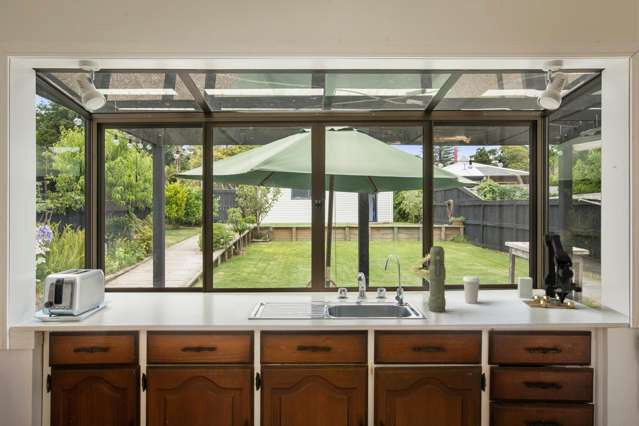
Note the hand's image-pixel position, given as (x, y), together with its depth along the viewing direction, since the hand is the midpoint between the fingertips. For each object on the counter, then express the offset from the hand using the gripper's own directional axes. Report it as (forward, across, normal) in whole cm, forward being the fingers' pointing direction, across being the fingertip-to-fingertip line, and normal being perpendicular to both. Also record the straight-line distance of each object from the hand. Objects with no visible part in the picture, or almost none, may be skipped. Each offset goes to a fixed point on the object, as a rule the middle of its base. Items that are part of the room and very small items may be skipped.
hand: (561, 303), depth 229 cm
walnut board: (+2, -7, 0) cm, 7 cm away
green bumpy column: (+2, -71, -21) cm, 74 cm away
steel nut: (+1, -4, 0) cm, 4 cm away
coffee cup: (+2, -49, +2) cm, 49 cm away
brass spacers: (+1, -5, 0) cm, 5 cm away
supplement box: (+2, -14, +19) cm, 24 cm away
